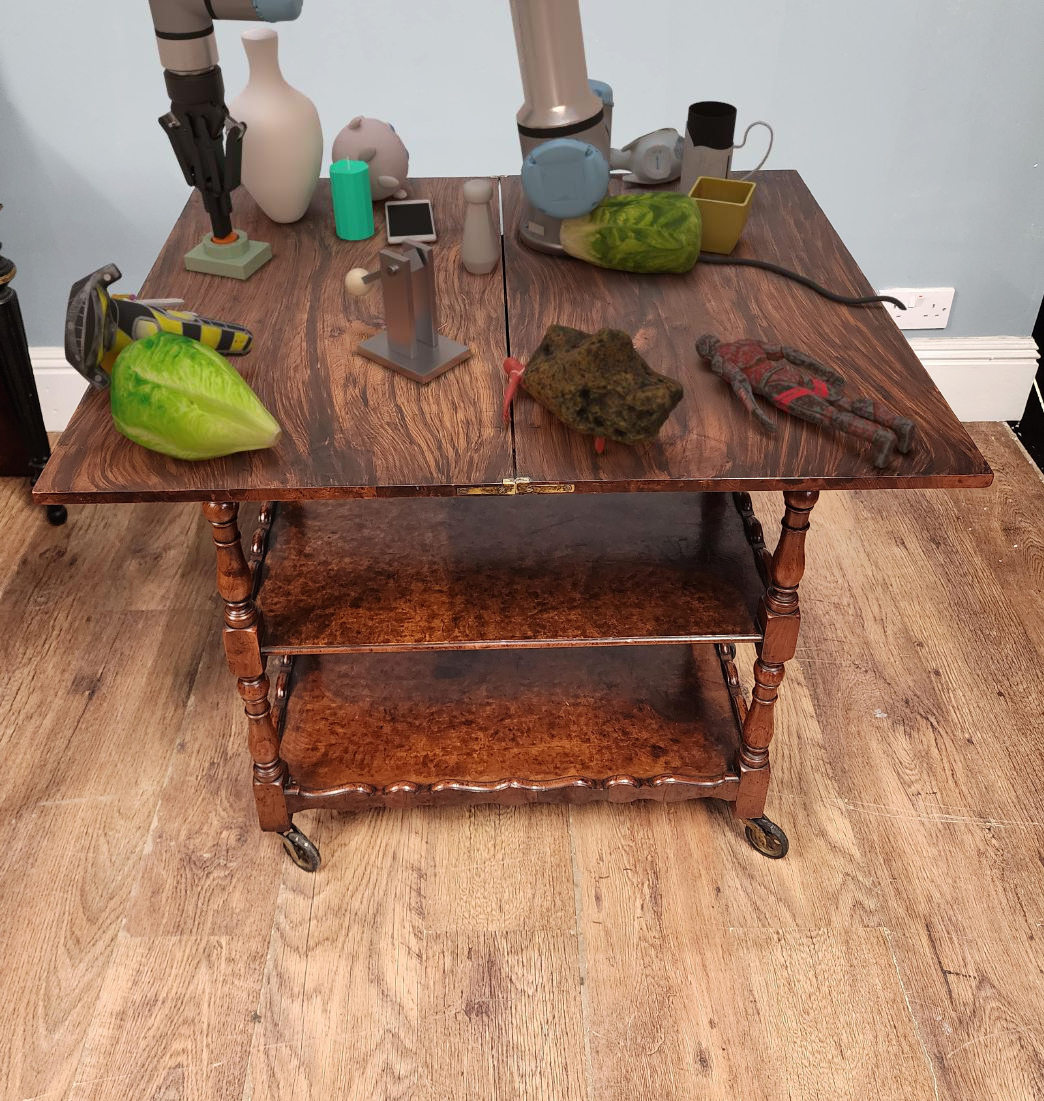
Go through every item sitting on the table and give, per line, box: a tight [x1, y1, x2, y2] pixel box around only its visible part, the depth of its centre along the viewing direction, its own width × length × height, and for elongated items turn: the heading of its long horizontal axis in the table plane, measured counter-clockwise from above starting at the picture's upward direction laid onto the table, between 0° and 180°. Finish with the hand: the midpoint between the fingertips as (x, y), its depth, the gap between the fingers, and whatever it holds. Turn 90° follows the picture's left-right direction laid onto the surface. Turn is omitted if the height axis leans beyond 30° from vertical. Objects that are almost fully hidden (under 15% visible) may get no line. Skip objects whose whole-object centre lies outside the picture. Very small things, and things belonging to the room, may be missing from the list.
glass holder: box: [678, 100, 774, 195], centre depth 172 cm, size 9×14×15 cm, turn 74°
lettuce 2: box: [559, 190, 702, 276], centre depth 157 cm, size 12×21×11 cm, turn 86°
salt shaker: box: [459, 178, 500, 276], centre depth 156 cm, size 6×6×13 cm
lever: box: [344, 248, 424, 297], centre depth 138 cm, size 14×4×4 cm
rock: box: [522, 323, 685, 445], centre depth 122 cm, size 13×12×20 cm
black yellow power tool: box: [63, 262, 255, 392], centre depth 125 cm, size 14×26×10 cm
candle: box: [328, 156, 375, 241], centre depth 166 cm, size 6×6×12 cm
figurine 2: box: [695, 333, 917, 469], centre depth 131 cm, size 14×5×30 cm
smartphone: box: [384, 199, 438, 245], centre depth 172 cm, size 8×1×15 cm
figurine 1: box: [502, 356, 606, 454], centre depth 131 cm, size 16×4×20 cm
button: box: [212, 232, 238, 245], centre depth 160 cm, size 4×4×2 cm
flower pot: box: [688, 176, 757, 255], centre depth 163 cm, size 9×9×9 cm
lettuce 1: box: [109, 330, 283, 462], centre depth 123 cm, size 14×20×12 cm
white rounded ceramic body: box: [610, 127, 685, 185], centre depth 183 cm, size 9×19×10 cm
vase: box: [224, 27, 324, 224], centre depth 164 cm, size 14×14×28 cm
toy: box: [331, 115, 410, 202], centre depth 176 cm, size 14×12×15 cm
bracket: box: [356, 238, 472, 386], centre depth 137 cm, size 12×9×15 cm
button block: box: [183, 228, 273, 281], centre depth 161 cm, size 10×8×4 cm
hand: (223, 234), depth 159 cm, fingers closed
